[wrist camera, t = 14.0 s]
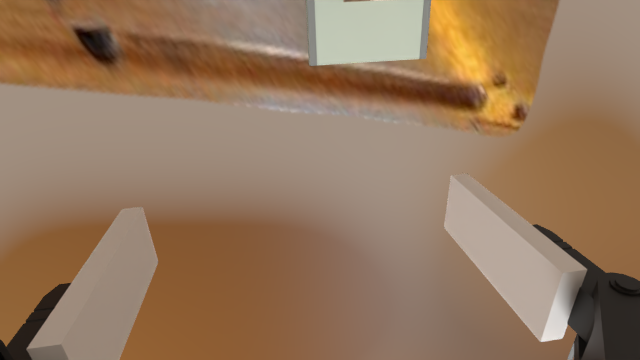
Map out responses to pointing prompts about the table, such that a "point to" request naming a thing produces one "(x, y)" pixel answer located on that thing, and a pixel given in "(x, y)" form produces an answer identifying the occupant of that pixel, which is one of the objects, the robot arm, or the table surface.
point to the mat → (366, 30)
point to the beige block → (359, 0)
